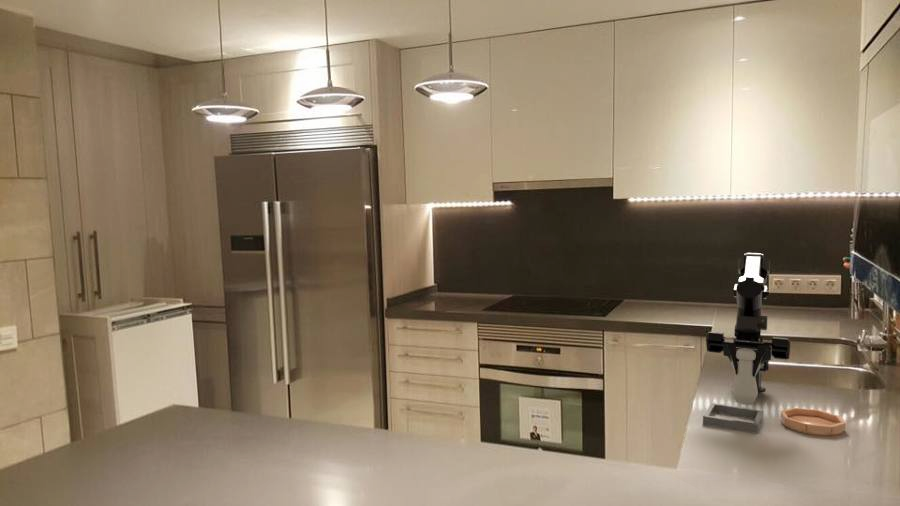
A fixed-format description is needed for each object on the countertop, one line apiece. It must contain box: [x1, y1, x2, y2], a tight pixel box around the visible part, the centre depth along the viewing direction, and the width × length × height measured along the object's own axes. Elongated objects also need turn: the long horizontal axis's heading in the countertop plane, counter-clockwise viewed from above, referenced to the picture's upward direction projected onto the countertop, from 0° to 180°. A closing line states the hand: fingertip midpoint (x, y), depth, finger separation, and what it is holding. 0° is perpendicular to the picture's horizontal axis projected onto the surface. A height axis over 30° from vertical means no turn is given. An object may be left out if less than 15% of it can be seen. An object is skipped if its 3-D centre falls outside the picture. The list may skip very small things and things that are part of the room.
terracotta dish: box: [779, 407, 847, 437], centre depth 151 cm, size 13×13×2 cm
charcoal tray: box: [702, 402, 764, 434], centre depth 155 cm, size 12×12×2 cm
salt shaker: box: [731, 349, 759, 405], centre depth 153 cm, size 6×6×13 cm
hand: (745, 374), depth 152 cm, fingers closed on salt shaker, 3 cm apart
